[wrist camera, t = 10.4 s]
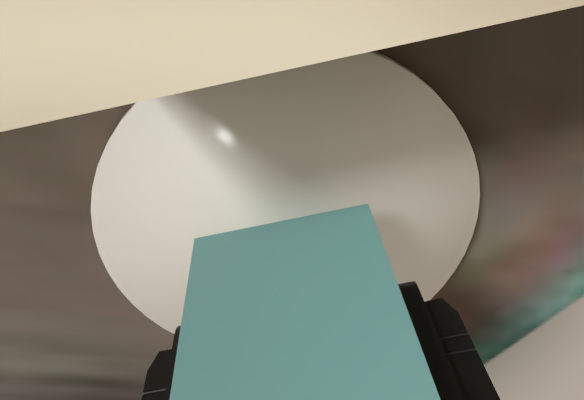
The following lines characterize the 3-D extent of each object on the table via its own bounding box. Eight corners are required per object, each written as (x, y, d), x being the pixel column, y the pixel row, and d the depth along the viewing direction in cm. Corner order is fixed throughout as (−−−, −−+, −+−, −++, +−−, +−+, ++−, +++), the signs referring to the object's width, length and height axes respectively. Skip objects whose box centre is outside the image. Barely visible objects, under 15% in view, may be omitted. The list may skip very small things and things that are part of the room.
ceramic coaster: (19, 89, 13) (10, 98, 12) (477, -12, 12) (487, -7, 12) (171, 369, 19) (169, 382, 19) (469, 313, 19) (475, 324, 18)
